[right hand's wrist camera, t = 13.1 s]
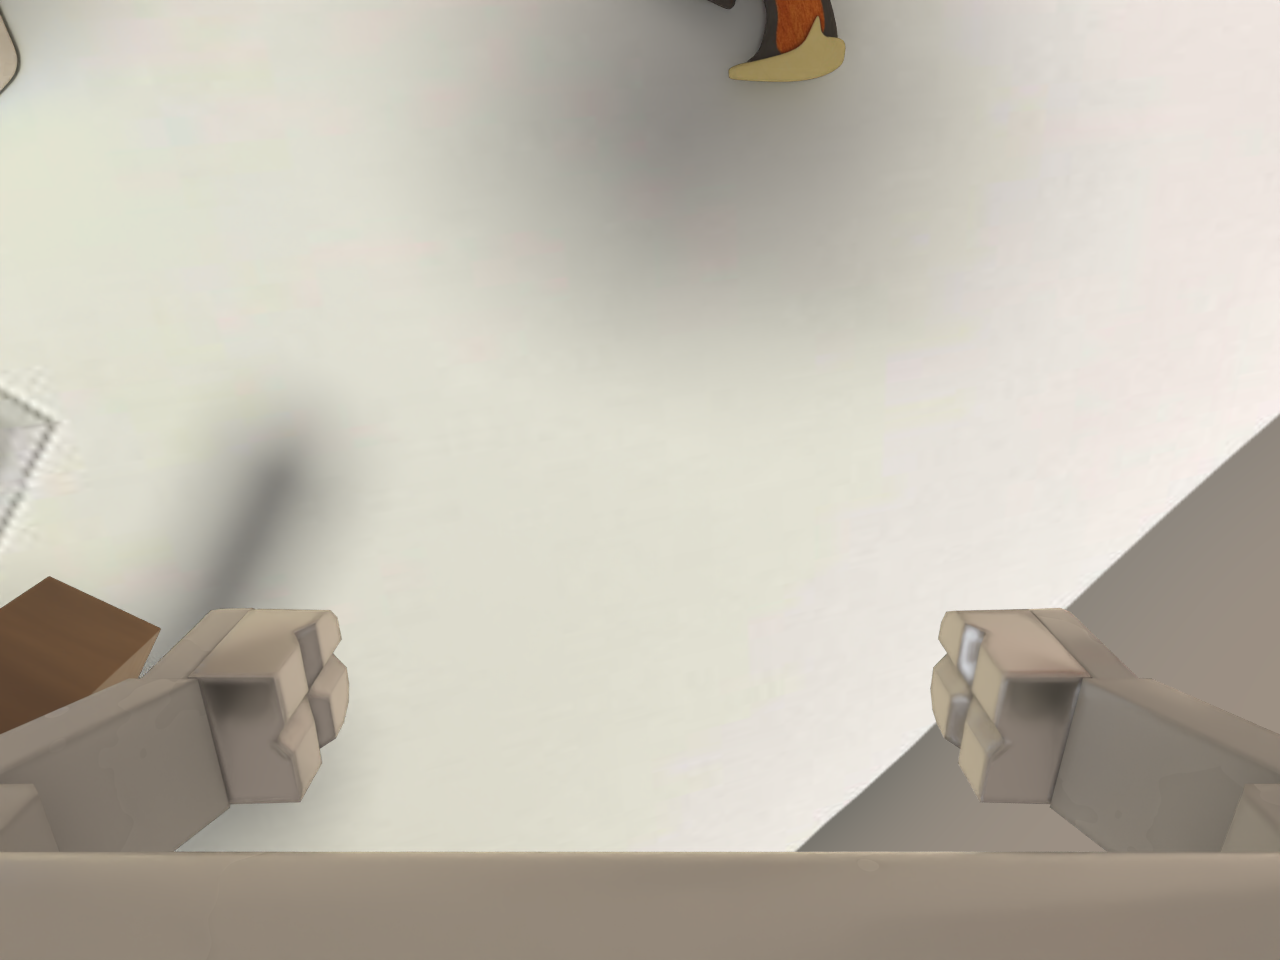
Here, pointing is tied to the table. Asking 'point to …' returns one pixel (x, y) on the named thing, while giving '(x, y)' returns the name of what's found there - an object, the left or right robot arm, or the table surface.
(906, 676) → the table surface
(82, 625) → the bar
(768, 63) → the toy gun
